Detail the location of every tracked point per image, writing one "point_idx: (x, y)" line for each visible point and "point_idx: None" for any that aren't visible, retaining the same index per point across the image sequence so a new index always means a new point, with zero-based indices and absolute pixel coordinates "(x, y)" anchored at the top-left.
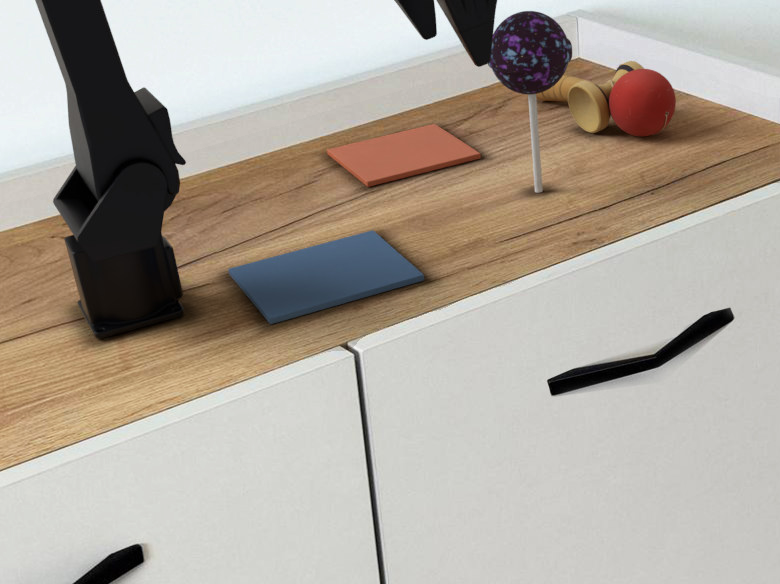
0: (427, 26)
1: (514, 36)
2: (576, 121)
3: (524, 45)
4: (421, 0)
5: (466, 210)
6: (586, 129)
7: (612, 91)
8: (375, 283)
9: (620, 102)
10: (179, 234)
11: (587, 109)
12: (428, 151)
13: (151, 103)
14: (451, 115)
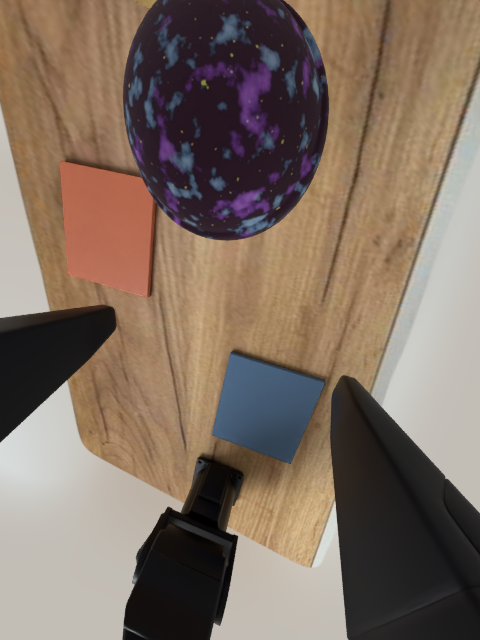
0: (97, 332)
1: (241, 196)
2: (147, 6)
3: (276, 192)
4: (36, 360)
5: (246, 275)
6: None
7: None
8: (306, 408)
9: None
10: (141, 412)
11: None
12: (119, 215)
13: None
14: (39, 121)
